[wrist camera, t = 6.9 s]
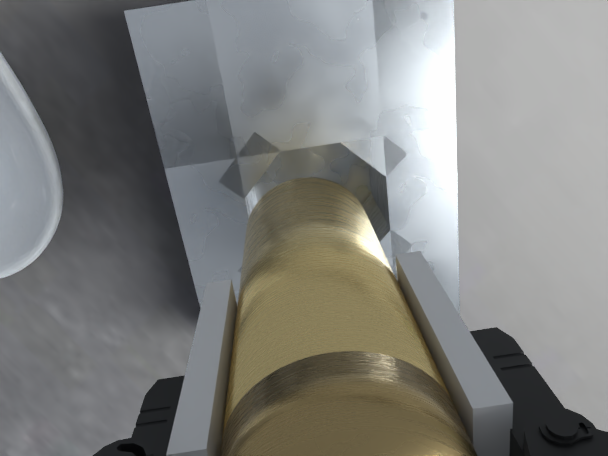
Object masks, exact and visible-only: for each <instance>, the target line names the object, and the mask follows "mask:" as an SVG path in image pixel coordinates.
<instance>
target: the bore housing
mask: <svg viewBox="0 0 608 456" xmlns="http://www.w3.org/2000/svg"><path fill="white" fill-rule="evenodd" d="M124 14H125V17H126V21H127V25H128V29H129V33H130V37H131V41H132V45H133V49H134V52H135V56H136V60H137V64H138V68H139V72H140V76H141V80H142V83H143V87H144V91H145V95H146V99H147V103H148V107H149V111H150V115H151V118H152V122H153V126H154V130H155V134H156V138H157V142H158V146H159V149H160V153H161V157H162V161H163V165H164V169H165V173H166V177H167V181H168V184H169V188H170V192H171V196H172V200H173V204H174V208H175V212H176V216H177V219H178V223H179V227H180V231H181V235H182V239H183V243H184V247H185V250H186V254H187V258H188V262H189V266H190V270H191V274H192V278H193V282H194V285H195V289H196V293H197V297H198V301H199V305H200V309H201V305H202V301H203V296H204V292H205V288H206V284H207V283H210V282H217V281H223V280H230V279H231V280H232V284H233V289H234V293H235V298H236V302H237V305H238V297H239V288H240V279H241V271H242V262H243V253H244V245H245V236H246V228H247V223H248V219H249V216H250V214H251V212H252V210H253V208H254V207H255V205H256V204H257V202H258V201H259V200H260V199H261V197H262V196H263V195H265V194H266V193H267V192H268V191H269V190H271V189H272V188H274V187H275V186H277V185H279V184H281V183H283V182H286V181H289V180H292V179H296V178H303V177H317V178H323V179H327V180H330V181H333V182H335V183H338V184H340V185H341V186H343V187H345V188H346V189H348V190H349V191H350V192H351V193H352V194H353V195H354V196H355V197H356V198H357V199H358V200H359V202H360V203H361V205H362V206H363V208H364V210H365V212H366V214H367V216H368V219H369V221H370V223H371V225H372V227H373V229H374V232H375V234H376V236H377V238H378V240H379V242H380V245H381V247H382V249H383V251H384V253H385V256H386V258H387V260H388V262H389V264H390V266H391V269H392V271H393V273H394V275H395V277H396V279H397V268H396V254H403V253H409V252H416V251H421V253H422V255H423V256H424V258H425V259H426V261H427V263H428V264H429V266H430V268H431V269H432V271H433V273H434V274H435V276H436V277H437V279H438V281H439V282H440V284H441V286H442V287H443V289H444V291H445V292H446V294H447V295H448V297H449V299H450V300H451V302H452V304H453V305H454V307H455V309H456V310H457V312H458V313H459V315H460V300H459V249H458V198H457V147H456V96H455V45H454V0H192V1H185V2H179V3H172V4H165V5H159V6H152V7H146V8H139V9H132V10H126V11H124ZM397 282H398V281H397Z"/></svg>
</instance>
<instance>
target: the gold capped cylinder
mask: <svg viewBox="0 0 608 456" xmlns="http://www.w3.org/2000/svg"><path fill="white" fill-rule="evenodd" d="M220 456H478V455H477V453H476V451H475V449H474V447H473V444H472V442H471V440H470V438H469V436H468V434H467V431H466V429H465V427H464V425H463V423H462V421H461V418H460V416H459V414H458V412H457V410H456V408H455V405H454V403H453V401H452V399H451V397H450V395H449V392H448V390H447V388H446V386H445V384H444V382H443V379H442V377H441V375H440V373H439V371H438V368H437V366H436V364H435V362H434V360H433V358H432V355H431V353H430V351H429V349H428V347H427V345H426V342H425V340H424V338H423V336H422V334H421V332H420V329H419V327H418V325H417V323H416V321H415V319H414V316H413V314H412V312H411V310H410V308H409V305H408V303H407V301H406V299H405V297H404V295H403V292H402V290H401V288H400V286H399V284H398V282H397V279H396V277H395V275H394V273H393V271H392V269H391V266H390V264H389V262H388V260H387V258H386V256H385V253H384V251H383V249H382V247H381V245H380V242H379V240H378V238H377V236H376V234H375V232H374V229H373V227H372V225H371V223H370V221H369V219H368V216H367V214H366V212H365V210H364V208H363V206H362V205H361V203H360V202H359V200H358V199H357V198H356V197H355V196H354V195H353V194H352V193H351V192H350V191H349V190H348V189H346V188H345V187H343V186H341V185H340V184H338V183H335V182H333V181H330V180H327V179H323V178H317V177H303V178H296V179H292V180H289V181H286V182H283V183H281V184H279V185H277V186H275V187H274V188H272V189H271V190H269V191H268V192H267V193H266V194H265V195H263V196H262V197H261V199H260V200H259V201H258V202H257V204H256V205H255V207H254V208H253V210H252V212H251V214H250V216H249V219H248V223H247V228H246V236H245V245H244V253H243V262H242V271H241V279H240V288H239V297H238V305H237V314H236V323H235V331H234V340H233V349H232V357H231V366H230V375H229V383H228V392H227V401H226V409H225V418H224V427H223V435H222V444H221V453H220Z"/></svg>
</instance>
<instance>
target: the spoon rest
mask: <svg viewBox="0 0 608 456" xmlns="http://www.w3.org/2000/svg"><path fill="white" fill-rule="evenodd" d="M62 206H63V185H62V176H61V171H60V166H59V162H58V158H57V155H56V153H55V150H54V147H53V144H52V142H51V139H50V137H49V135H48V132H47V130H46V128H45V126H44V124H43V122H42V120H41V119H40V117H39V115H38V113H37V111H36V109H35V107H34V106H33V104H32V102H31V100H30V99H29V97H28V95H27V93H26V92H25V90H24V88H23V86H22V85H21V83H20V81H19V80H18V78H17V77H16V75H15V73H14V72H13V70H12V69H11V67H10V66H9V64H8V63H7V61H6V59H5V58H4V56H3V55H2V53H1V52H0V278H4V277H7V276H10V275H12V274H14V273H16V272H18V271H20V270H22V269H24V268H25V267H27V266H28V265H30V264H31V263H32V262H33V261H34V260H35V259H36V258H37V257H38V256H39V255H40V254H41V253H42V252H43V251H44V250H45V248H46V247H47V245H48V244H49V242H50V241H51V239H52V237H53V235H54V233H55V232H56V230H57V227H58V224H59V221H60V217H61V213H62Z"/></svg>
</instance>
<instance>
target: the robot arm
mask: <svg viewBox="0 0 608 456" xmlns="http://www.w3.org/2000/svg"><path fill="white" fill-rule="evenodd" d="M396 268H397V281H398V284H399V286H400V288H401V290H402V292H403V295H404V297H405V299H406V301H407V303H408V305H409V308H410V310H411V312H412V314H413V316H414V319H415V321H416V323H417V325H418V327H419V329H420V332H421V334H422V336H423V338H424V340H425V342H426V345H427V347H428V349H429V351H430V353H431V355H432V358H433V360H434V362H435V364H436V366H437V368H438V371H439V373H440V375H441V377H442V379H443V382H444V384H445V386H446V388H447V390H448V392H449V395H450V397H451V399H452V401H453V403H454V405H455V408H456V410H457V412H458V414H459V416H460V418H461V421H462V423H463V425H464V427H465V429H466V431H467V434H468V436H469V438H470V440H471V442H472V444H473V447H474V449H475V451H476V453H477V455H478V456H608V432H605V431H601V430H598V429H596V428H595V426H594V425H593V423H591V422H590V421H589V420H587V419H586V418H585V417H583V416H582V415H580V414H578V413H576V412H573V411H571V410H568V409H565V408H564V407H563V405H562V404H561V403H560V401H559V400H558V398H557V397H556V396H555V394H554V393H553V392H552V390H551V389H550V388H549V386H548V385H547V383H546V382H545V381H544V379H543V378H542V377H541V375H540V374H539V373H538V371H537V370H536V368H535V367H534V366H532V363H531V362H530V360H529V359H528V357H527V356H526V355H524V352H523V351H522V349H521V348H520V347H519V345H518V344H517V342H516V341H515V340H514V338H512V337H511V336H509V335H508V334H506V333H504V332H503V331H501V330H500V329H498V328H497V327H496V328H489V329H483V330H476V331H469V330H468V328H467V327H466V325H465V323H464V322H463V320H462V318H461V317H460V315H459V313H458V312H457V310H456V309H455V307H454V305H453V304H452V302H451V300H450V299H449V297H448V295H447V294H446V292H445V291H444V289H443V287H442V286H441V284H440V282H439V281H438V279H437V277H436V276H435V274H434V273H433V271H432V269H431V268H430V266H429V264H428V263H427V261H426V259H425V258H424V256H423V255H422V253H421V251H416V252H409V253H403V254H396ZM236 314H237V302H236V298H235V293H234V289H233V284H232V280H231V279H230V280H223V281H217V282H210V283H207V284H206V288H205V292H204V296H203V301H202V305H201V309H200V313H199V318H198V322H197V326H196V330H195V335H194V339H193V343H192V347H191V352H190V356H189V360H188V364H187V369H186V373H185V376H179V377H173V378H166V379H159V380H157V382H156V383H155V384H154V385H153V386H152V388H151V389H150V390H149V391H148V392H147V394H146V395H145V398H144V401H143V404H142V407H141V410H140V414H139V416H138V419H137V422H136V428H134V431H133V434H132V437H131V438H128V439H123V440H118V441H116V442H113V443H111V444H109V445H107V446H105V447H103V448H102V449H101V450H100V451H98V452H97V453H96V454H94V455H93V456H220V453H221V444H222V435H223V427H224V418H225V409H226V401H227V392H228V383H229V375H230V366H231V357H232V349H233V340H234V331H235V323H236Z"/></svg>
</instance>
